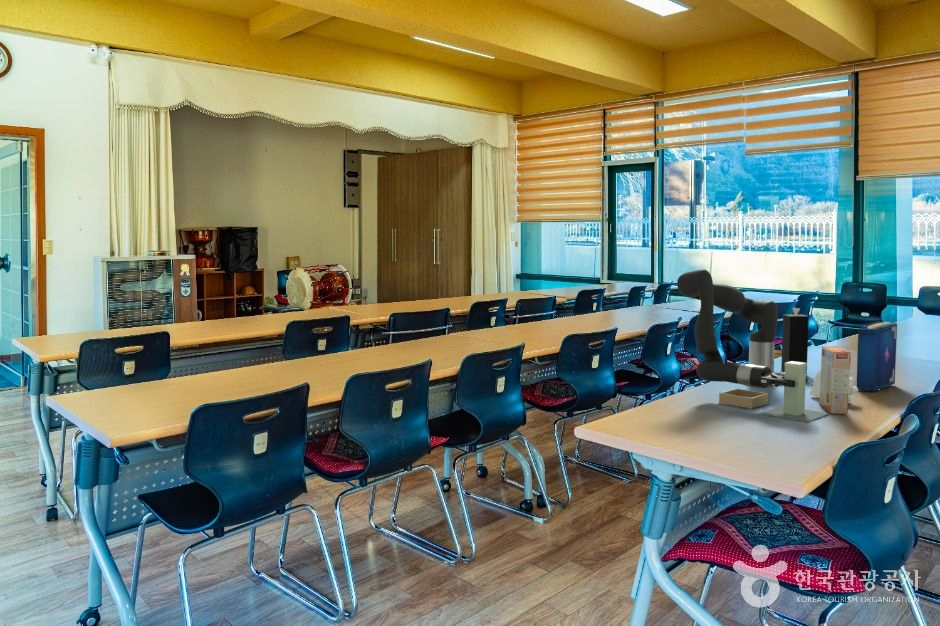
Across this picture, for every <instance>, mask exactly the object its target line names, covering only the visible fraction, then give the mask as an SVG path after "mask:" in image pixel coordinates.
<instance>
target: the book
mask: <svg viewBox="0 0 940 626" xmlns="http://www.w3.org/2000/svg"><path fill="white" fill-rule="evenodd" d="M897 333H898V323H897V322H895V321H894V322H890V321H886V322H884V321H883V322H882V321H880V320H879V321H873V322H870V323H867V324H865V325H864V326H861V327H859V328H858V329H857V359H856V363H857V364H856V368H857V369H856V387H857V388H858V391H861V390H862V392H869V391H872V392H874V391H879V390H878V389H882V390H884V389H887V388H889V387H890V386H892V385H895V384H896V366H897V365H896V364H897V362H896V361H897V337H898V334H897ZM886 387H887V388H886ZM883 388H884V389H883Z"/></svg>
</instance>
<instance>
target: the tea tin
mask: <svg viewBox="0 0 940 626" xmlns="http://www.w3.org/2000/svg"><path fill="white" fill-rule="evenodd" d="M806 366H807V367H808V362H807V363H804V362H795V361H790V362H786V363H785V379H787V380H794V381H795V382H796V384H795V387H786V386H783V406H784V408H783V413H785V414H791V415H797V416H798V415H801V414H804V410H805V406H806V384H807V383H806V377H807V374H806ZM805 383H806V384H805Z"/></svg>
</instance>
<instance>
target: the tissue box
mask: <svg viewBox="0 0 940 626" xmlns="http://www.w3.org/2000/svg"><path fill="white" fill-rule="evenodd" d="M800 310H801V308H798V307H792V312H793V314H792V313H791V314H782V338H781V339H782V341H781V366H780V367H781V371H780V372H782V371H783V372H785V363H786V362H790V361H795V362H804V363H807V364H808V348H809V345H808V344H809V322H810V316H809V315H805V314H801V313H800V314H798V313H799V312H800ZM807 374H808V365H807V366H806V375H807Z"/></svg>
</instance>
